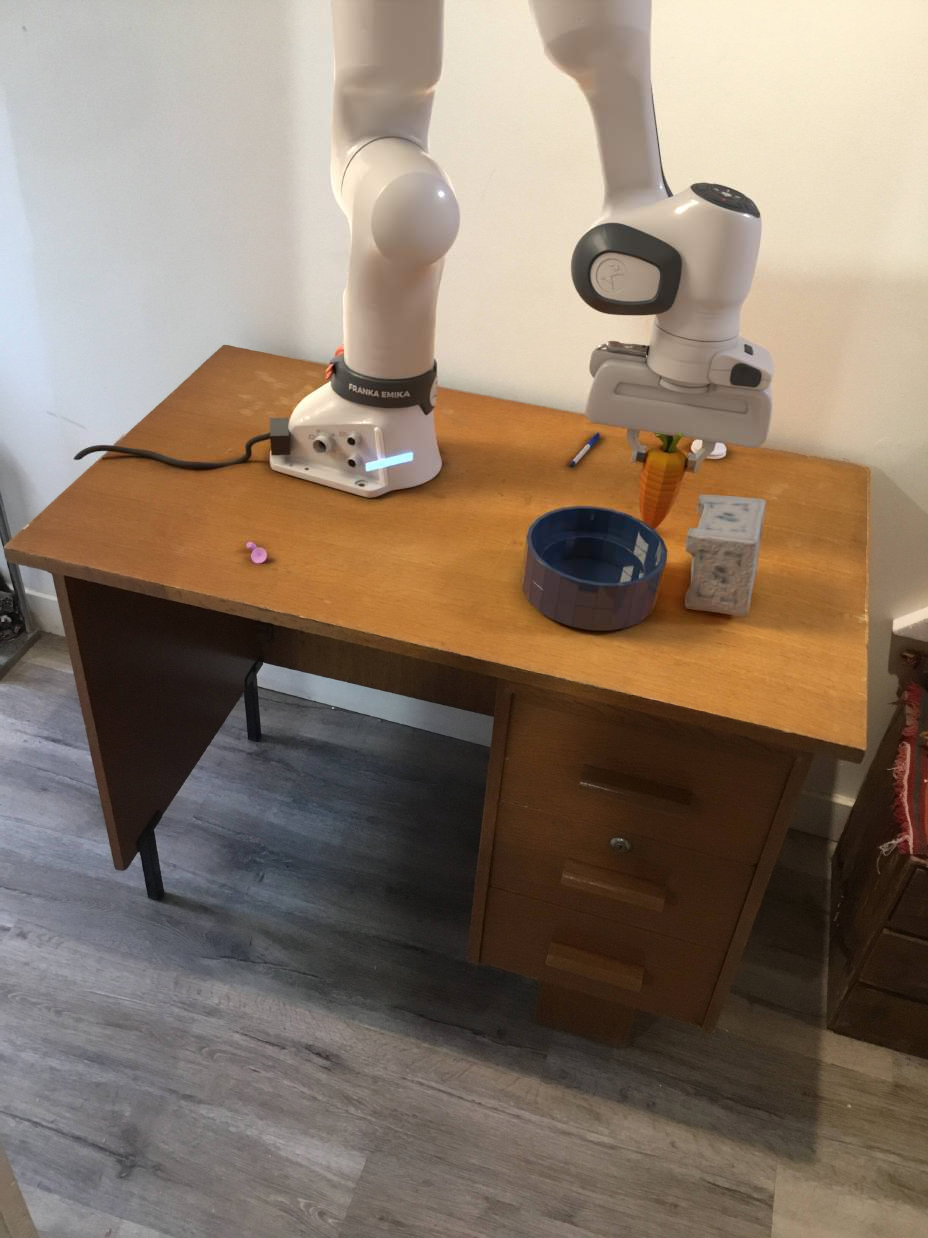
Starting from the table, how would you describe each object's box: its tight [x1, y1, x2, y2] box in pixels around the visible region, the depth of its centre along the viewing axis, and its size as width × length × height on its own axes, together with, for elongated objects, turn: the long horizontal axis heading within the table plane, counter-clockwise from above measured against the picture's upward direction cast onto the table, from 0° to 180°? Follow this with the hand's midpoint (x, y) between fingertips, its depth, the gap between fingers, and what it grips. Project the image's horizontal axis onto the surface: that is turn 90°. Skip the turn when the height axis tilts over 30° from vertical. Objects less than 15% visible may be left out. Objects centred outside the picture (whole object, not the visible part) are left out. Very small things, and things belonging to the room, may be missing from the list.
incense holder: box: [684, 493, 767, 617], centre depth 99 cm, size 10×8×10 cm
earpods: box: [246, 541, 268, 564], centre depth 102 cm, size 3×2×2 cm
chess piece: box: [690, 439, 727, 460], centre depth 126 cm, size 5×5×10 cm
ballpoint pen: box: [569, 432, 601, 467], centre depth 126 cm, size 10×1×1 cm, turn 154°
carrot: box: [638, 433, 688, 531], centre depth 107 cm, size 5×5×15 cm
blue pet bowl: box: [520, 505, 668, 632], centre depth 99 cm, size 15×15×6 cm
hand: (664, 466), depth 106 cm, fingers closed on carrot, 5 cm apart
